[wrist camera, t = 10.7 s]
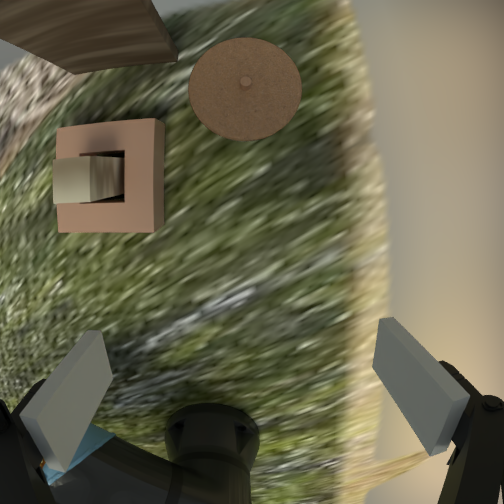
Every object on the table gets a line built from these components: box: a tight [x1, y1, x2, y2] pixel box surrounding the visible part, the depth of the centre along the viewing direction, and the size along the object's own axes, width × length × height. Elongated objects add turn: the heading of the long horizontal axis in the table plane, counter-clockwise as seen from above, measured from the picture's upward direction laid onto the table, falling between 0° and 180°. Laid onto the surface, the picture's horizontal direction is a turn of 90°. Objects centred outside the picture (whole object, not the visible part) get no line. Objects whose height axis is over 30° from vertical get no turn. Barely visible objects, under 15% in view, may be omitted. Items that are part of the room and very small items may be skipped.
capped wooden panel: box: [0, 0, 178, 75], centre depth 18 cm, size 7×16×32 cm, turn 88°
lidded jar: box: [188, 37, 302, 142], centre depth 30 cm, size 11×11×9 cm
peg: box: [53, 156, 125, 204], centre depth 31 cm, size 4×4×12 cm
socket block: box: [56, 118, 165, 233], centre depth 34 cm, size 12×12×5 cm
